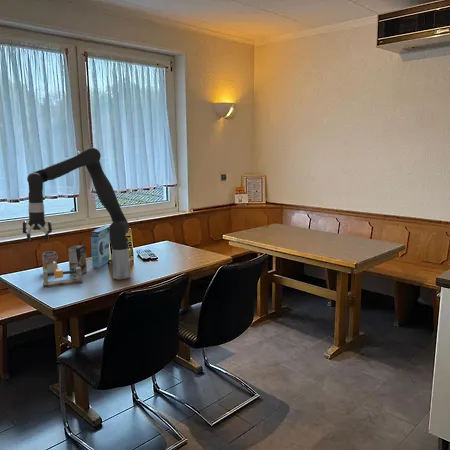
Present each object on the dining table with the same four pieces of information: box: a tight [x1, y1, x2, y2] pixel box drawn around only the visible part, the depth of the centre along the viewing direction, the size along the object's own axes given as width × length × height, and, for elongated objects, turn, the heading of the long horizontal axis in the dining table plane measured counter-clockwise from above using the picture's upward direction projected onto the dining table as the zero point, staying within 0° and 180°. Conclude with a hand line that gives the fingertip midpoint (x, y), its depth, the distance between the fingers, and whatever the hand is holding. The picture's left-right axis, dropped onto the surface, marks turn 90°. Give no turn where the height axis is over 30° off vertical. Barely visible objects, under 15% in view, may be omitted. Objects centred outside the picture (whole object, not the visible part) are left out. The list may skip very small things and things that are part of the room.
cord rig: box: [42, 267, 83, 288], centre depth 239 cm, size 20×6×8 cm, turn 113°
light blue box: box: [90, 225, 110, 269], centre depth 276 cm, size 20×5×23 cm, turn 169°
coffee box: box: [67, 244, 88, 276], centre depth 257 cm, size 9×6×16 cm
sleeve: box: [53, 262, 64, 279], centre depth 237 cm, size 4×4×8 cm
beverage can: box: [41, 251, 59, 273], centre depth 258 cm, size 9×8×12 cm
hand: (38, 240), depth 233 cm, fingers open, 8 cm apart
